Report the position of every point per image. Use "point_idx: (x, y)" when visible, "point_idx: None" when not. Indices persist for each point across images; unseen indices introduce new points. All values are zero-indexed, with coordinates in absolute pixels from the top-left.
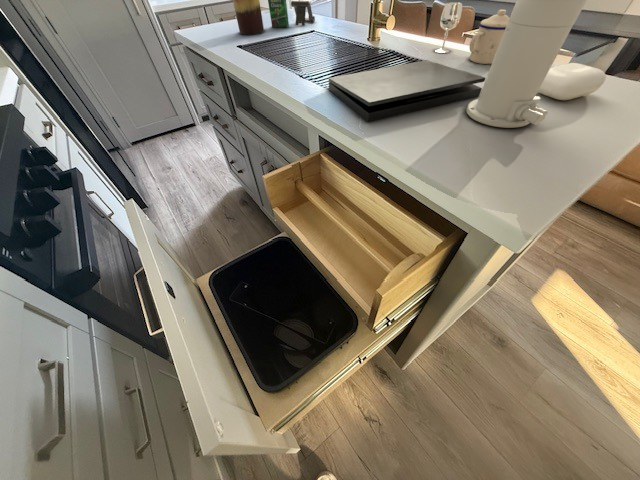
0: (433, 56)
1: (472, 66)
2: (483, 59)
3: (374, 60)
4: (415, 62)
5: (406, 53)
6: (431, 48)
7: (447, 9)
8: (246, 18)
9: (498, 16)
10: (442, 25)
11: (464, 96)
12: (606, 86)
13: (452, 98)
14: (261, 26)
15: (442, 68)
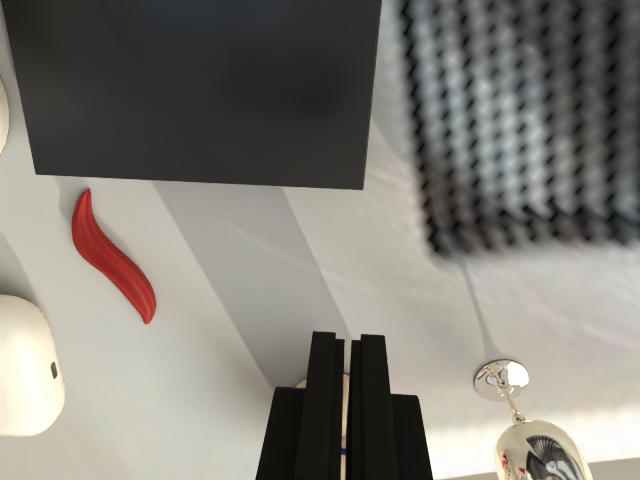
0: (477, 320)
1: (306, 341)
2: (305, 385)
3: (622, 87)
4: (363, 128)
5: (585, 267)
6: (558, 379)
7: (554, 469)
8: None
9: None
10: (538, 421)
11: None
12: (26, 456)
13: None
14: None
15: (219, 148)
